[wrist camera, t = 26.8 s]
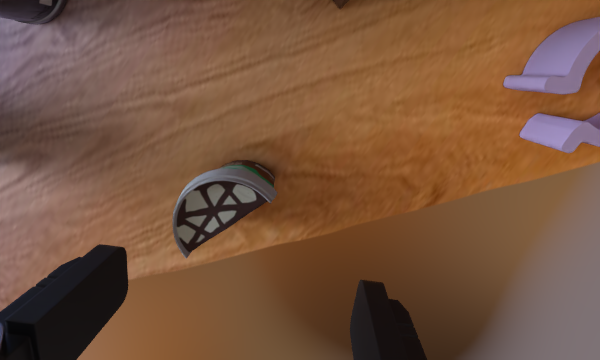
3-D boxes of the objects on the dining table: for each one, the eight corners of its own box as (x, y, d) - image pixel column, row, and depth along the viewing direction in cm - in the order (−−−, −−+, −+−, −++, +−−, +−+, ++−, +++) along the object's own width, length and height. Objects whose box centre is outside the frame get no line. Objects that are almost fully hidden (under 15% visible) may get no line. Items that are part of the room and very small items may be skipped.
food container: (255, 130, 40) (236, 149, 30) (284, 170, 41) (275, 200, 32) (180, 184, 42) (142, 217, 33) (210, 220, 44) (182, 261, 34)
